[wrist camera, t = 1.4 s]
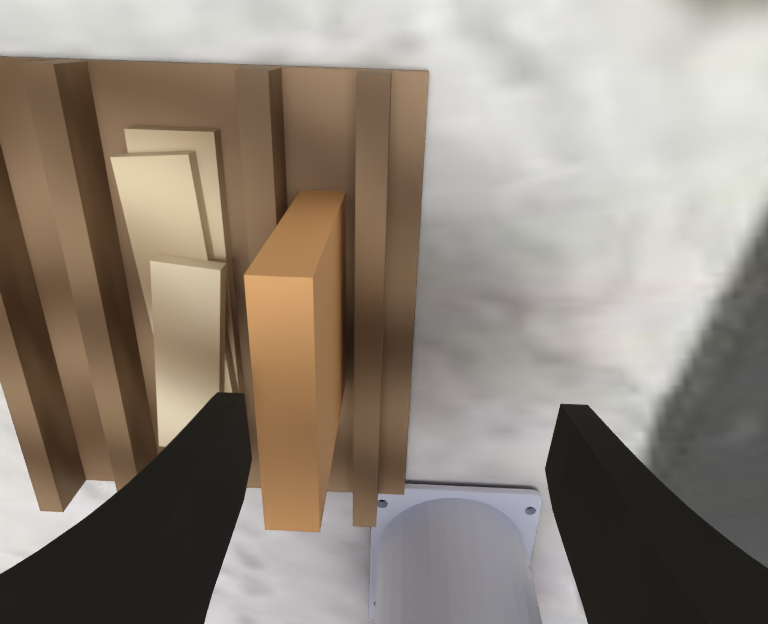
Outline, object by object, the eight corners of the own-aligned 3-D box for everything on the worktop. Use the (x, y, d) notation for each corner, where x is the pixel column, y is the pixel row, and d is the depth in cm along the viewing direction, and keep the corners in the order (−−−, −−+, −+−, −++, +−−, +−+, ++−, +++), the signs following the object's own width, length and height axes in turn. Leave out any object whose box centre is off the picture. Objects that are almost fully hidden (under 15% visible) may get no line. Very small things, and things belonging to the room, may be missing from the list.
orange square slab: (345, 382, 24) (319, 532, 17) (307, 380, 24) (264, 529, 17) (346, 191, 20) (313, 277, 13) (301, 189, 20) (243, 275, 13)
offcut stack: (254, 453, 26) (242, 487, 24) (177, 450, 26) (158, 482, 24) (226, 129, 20) (207, 139, 18) (124, 125, 20) (94, 135, 18)
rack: (404, 479, 27) (404, 528, 25) (71, 464, 28) (35, 510, 25) (427, 70, 20) (431, 76, 17) (-37, 54, 20) (-107, 58, 17)
